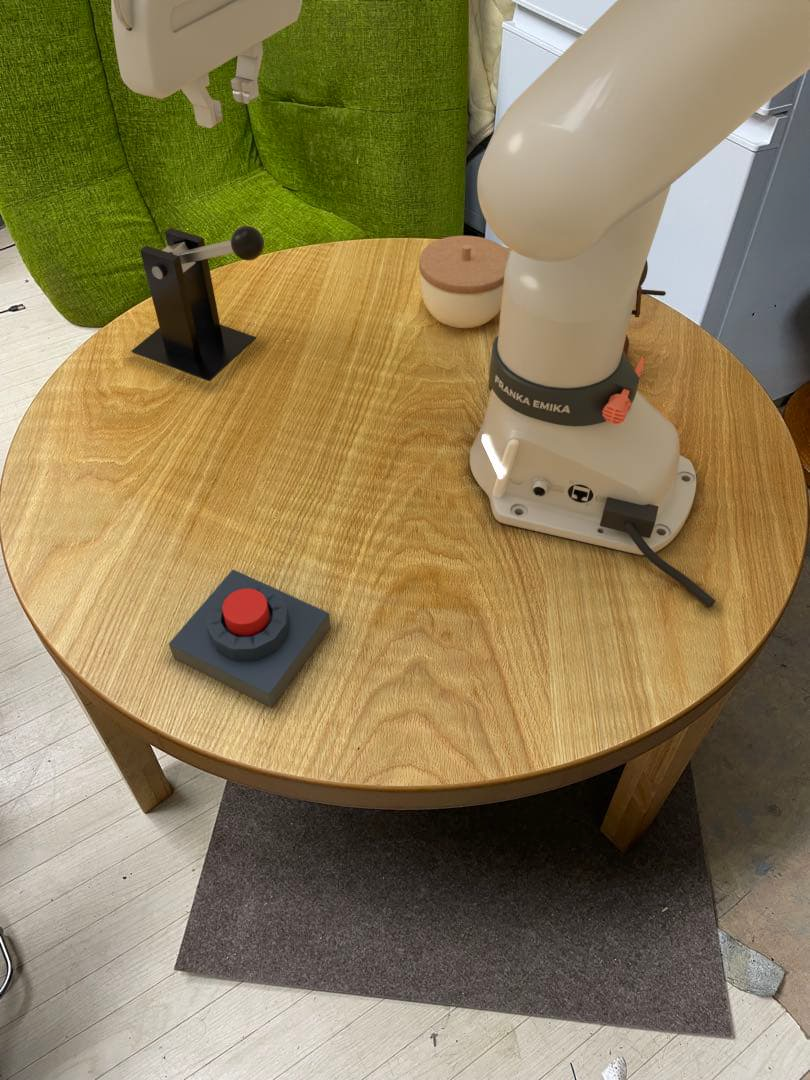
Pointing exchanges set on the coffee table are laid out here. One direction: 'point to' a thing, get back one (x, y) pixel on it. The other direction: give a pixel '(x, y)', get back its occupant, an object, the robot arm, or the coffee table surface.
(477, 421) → the coffee table surface
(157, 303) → the bracket
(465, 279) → the trinket box
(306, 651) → the button block
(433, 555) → the coffee table surface
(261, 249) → the tap lever
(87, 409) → the coffee table surface
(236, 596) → the button
